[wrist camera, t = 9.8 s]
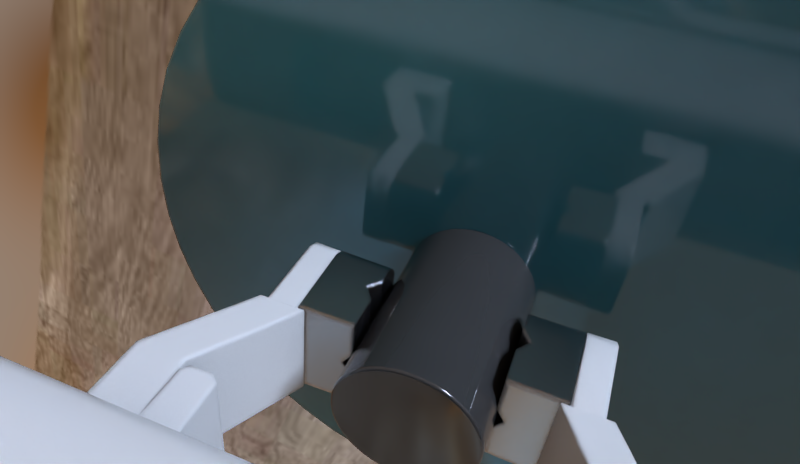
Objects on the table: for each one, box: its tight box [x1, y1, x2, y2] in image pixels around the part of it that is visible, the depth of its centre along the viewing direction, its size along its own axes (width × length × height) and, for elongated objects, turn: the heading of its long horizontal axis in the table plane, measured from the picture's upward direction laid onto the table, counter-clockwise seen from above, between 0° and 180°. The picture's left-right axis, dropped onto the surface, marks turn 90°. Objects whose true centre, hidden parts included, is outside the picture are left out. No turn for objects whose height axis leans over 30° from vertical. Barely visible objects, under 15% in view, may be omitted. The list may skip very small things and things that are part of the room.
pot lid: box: [158, 0, 800, 464], centre depth 12 cm, size 14×14×5 cm
